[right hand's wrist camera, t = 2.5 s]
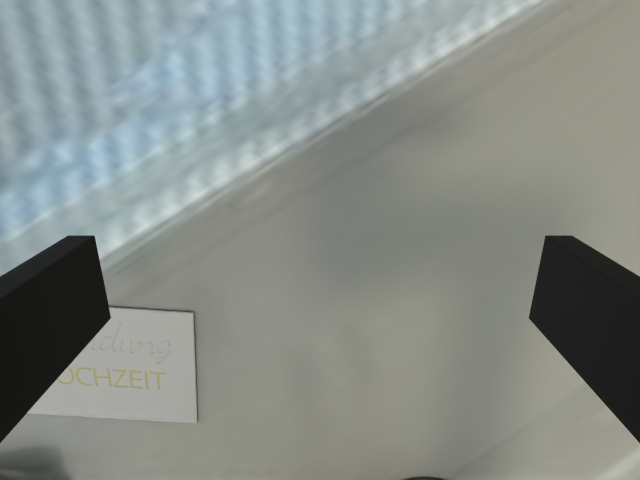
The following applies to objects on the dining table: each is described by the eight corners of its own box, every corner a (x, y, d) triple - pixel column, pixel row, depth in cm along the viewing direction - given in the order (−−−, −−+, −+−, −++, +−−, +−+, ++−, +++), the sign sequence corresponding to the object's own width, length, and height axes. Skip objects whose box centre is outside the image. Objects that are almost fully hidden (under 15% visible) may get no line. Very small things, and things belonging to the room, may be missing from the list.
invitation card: (14, 413, 49) (-12, 300, 44) (16, 411, 49) (-10, 299, 44) (196, 423, 50) (192, 313, 44) (197, 422, 50) (193, 312, 45)
